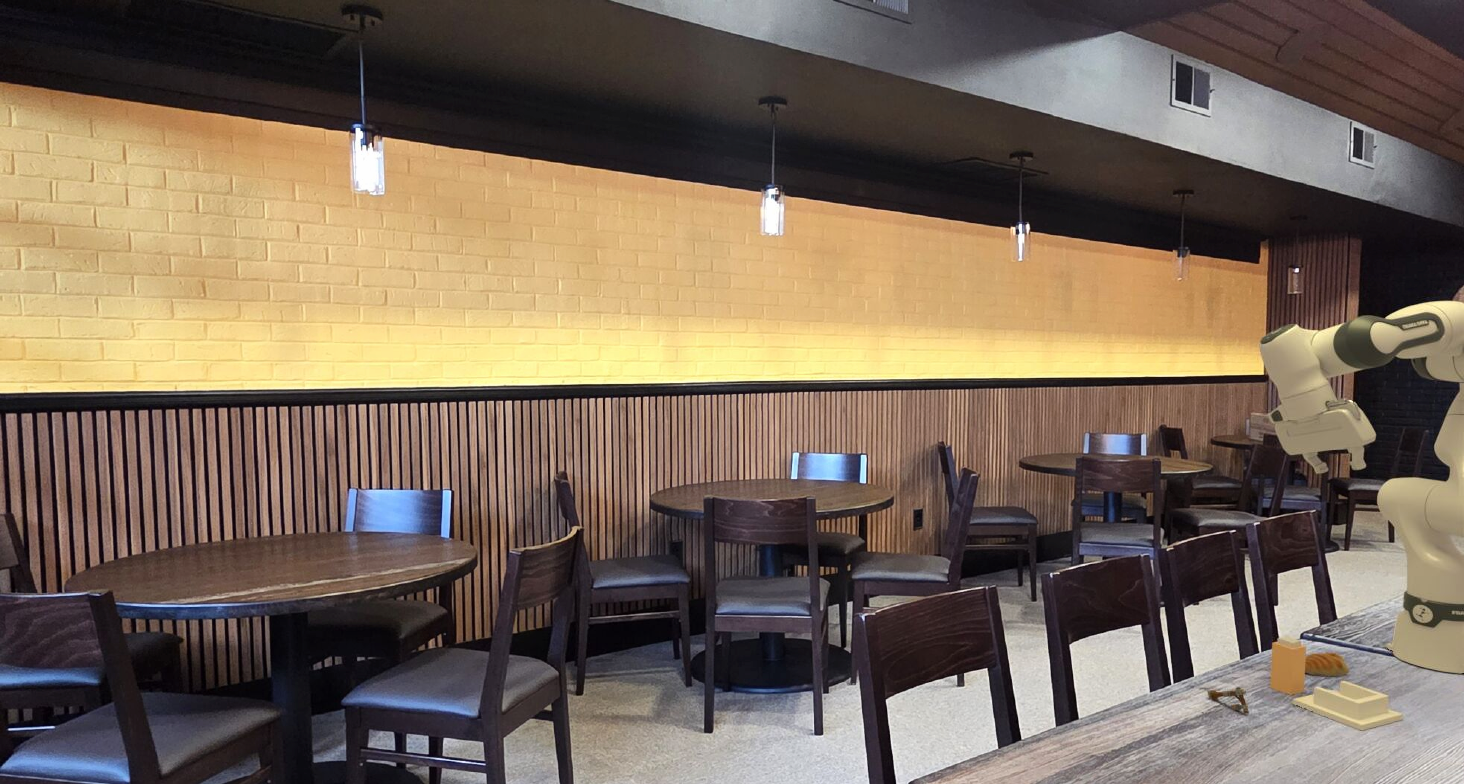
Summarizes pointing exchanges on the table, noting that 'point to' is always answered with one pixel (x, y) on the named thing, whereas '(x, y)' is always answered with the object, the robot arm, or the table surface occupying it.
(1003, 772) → the table surface
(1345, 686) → the holder
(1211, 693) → the wooden post with brackets
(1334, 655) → the pastry
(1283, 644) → the block
